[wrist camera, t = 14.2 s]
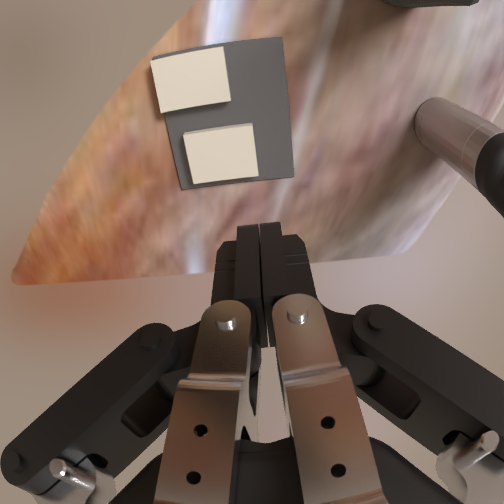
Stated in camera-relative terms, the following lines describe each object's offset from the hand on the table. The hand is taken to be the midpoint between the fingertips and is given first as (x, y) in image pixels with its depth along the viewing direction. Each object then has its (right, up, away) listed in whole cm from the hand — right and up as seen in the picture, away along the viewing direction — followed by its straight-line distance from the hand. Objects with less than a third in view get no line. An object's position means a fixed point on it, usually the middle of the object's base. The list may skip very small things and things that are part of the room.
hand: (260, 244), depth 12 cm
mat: (-4, +20, +32) cm, 37 cm away
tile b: (0, +15, +34) cm, 37 cm away
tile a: (-4, +24, +27) cm, 36 cm away
